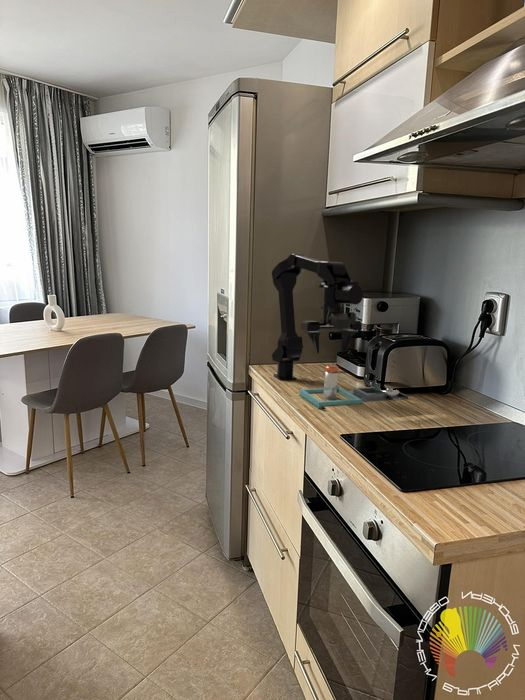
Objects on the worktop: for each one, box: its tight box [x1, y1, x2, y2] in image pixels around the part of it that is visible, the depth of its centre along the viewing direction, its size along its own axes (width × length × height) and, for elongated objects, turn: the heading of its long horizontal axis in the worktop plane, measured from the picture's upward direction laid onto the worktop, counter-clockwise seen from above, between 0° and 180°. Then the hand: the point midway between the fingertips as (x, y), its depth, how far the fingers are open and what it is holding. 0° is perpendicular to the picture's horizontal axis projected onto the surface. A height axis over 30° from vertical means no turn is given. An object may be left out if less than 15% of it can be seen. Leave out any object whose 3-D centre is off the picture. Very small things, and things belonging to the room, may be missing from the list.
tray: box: [298, 386, 363, 410], centre depth 151 cm, size 14×14×2 cm
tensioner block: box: [346, 386, 409, 403], centre depth 156 cm, size 12×16×3 cm
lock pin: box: [322, 364, 339, 401], centre depth 150 cm, size 4×4×10 cm
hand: (330, 353), depth 155 cm, fingers open, 9 cm apart
